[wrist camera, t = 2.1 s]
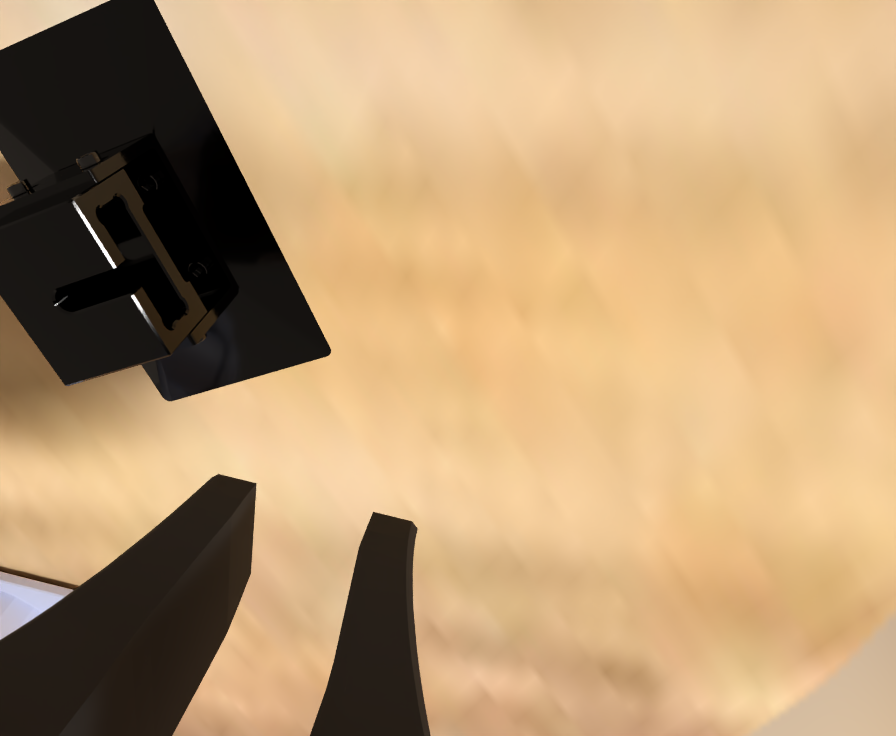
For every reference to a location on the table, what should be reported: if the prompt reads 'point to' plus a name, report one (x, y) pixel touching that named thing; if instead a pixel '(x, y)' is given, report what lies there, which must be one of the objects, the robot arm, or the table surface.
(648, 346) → the table surface
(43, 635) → the robot arm
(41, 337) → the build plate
